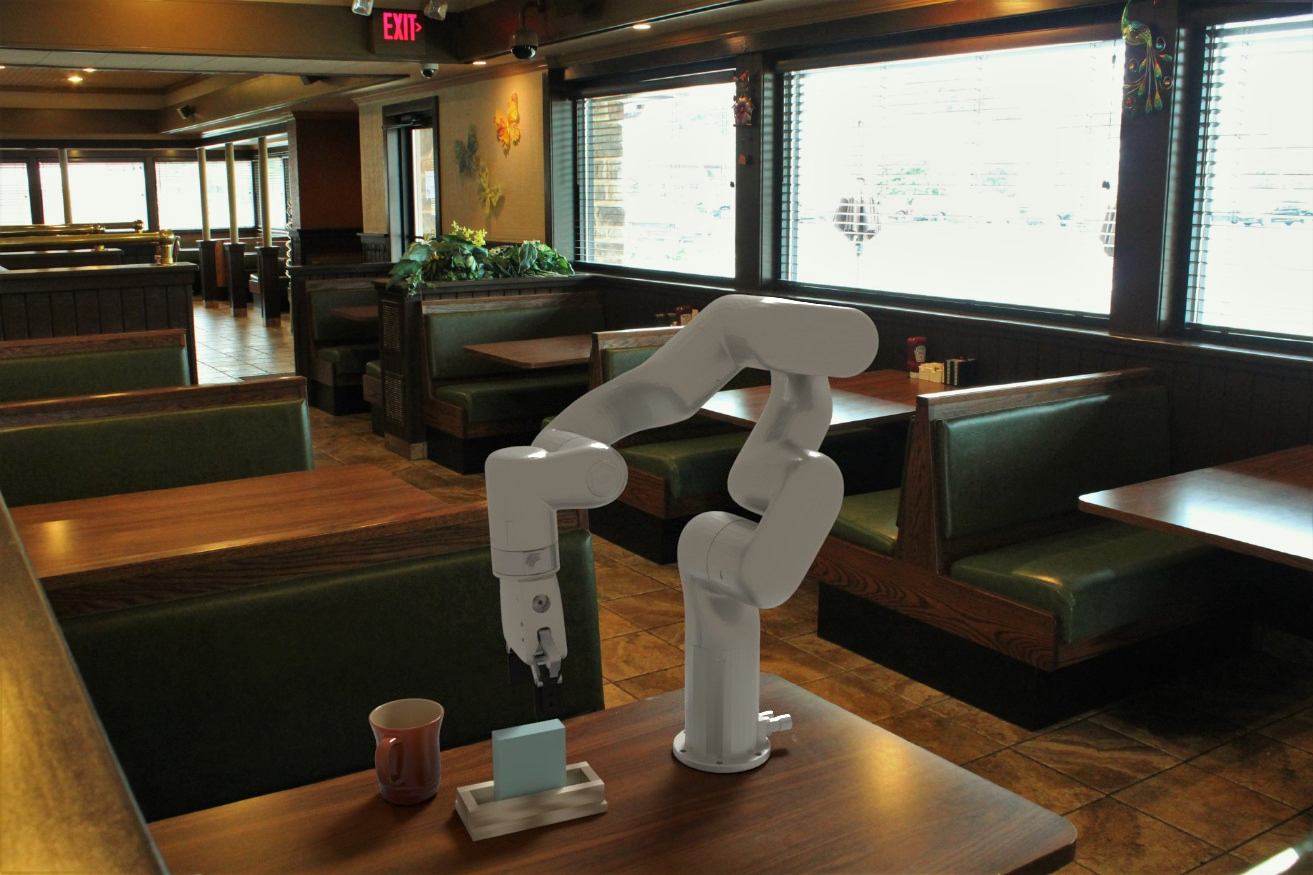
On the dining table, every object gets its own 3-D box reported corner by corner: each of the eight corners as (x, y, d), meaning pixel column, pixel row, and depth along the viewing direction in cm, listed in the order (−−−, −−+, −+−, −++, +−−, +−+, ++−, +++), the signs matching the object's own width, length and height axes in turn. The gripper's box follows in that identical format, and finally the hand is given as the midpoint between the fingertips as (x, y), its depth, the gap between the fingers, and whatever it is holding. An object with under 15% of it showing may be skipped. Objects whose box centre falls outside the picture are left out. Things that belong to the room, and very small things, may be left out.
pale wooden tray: (583, 780, 139) (583, 758, 139) (607, 810, 132) (607, 787, 131) (455, 808, 133) (454, 784, 132) (473, 841, 126) (472, 816, 125)
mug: (392, 772, 141) (388, 695, 140) (458, 779, 140) (455, 701, 138) (347, 821, 130) (342, 738, 128) (419, 829, 128) (415, 744, 126)
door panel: (559, 789, 135) (557, 718, 133) (566, 799, 133) (565, 727, 131) (494, 803, 132) (491, 731, 130) (500, 813, 129) (498, 740, 128)
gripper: (583, 573, 120) (592, 722, 124) (533, 533, 136) (543, 666, 140) (516, 585, 118) (527, 737, 121) (472, 543, 133) (483, 678, 137)
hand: (535, 699), depth 130 cm, fingers open, 9 cm apart
